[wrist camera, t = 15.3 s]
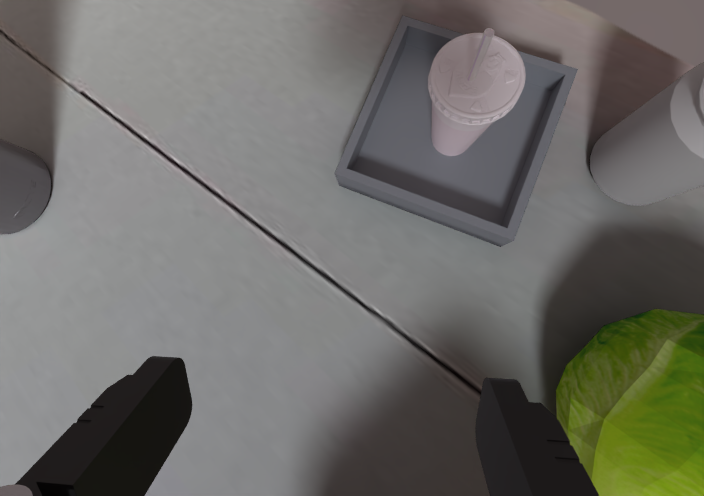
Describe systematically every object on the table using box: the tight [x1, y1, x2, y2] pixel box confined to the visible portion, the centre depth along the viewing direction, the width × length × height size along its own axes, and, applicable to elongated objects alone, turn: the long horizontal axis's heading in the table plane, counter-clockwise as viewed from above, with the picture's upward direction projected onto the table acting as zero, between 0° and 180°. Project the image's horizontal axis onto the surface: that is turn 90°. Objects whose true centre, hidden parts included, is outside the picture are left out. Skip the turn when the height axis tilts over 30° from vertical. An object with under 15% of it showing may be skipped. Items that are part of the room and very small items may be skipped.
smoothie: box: [428, 28, 526, 156], centre depth 27 cm, size 6×6×14 cm
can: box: [590, 62, 704, 206], centre depth 28 cm, size 8×8×12 cm
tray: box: [335, 15, 578, 247], centre depth 34 cm, size 16×16×4 cm
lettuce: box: [556, 309, 704, 496], centre depth 24 cm, size 15×20×14 cm
